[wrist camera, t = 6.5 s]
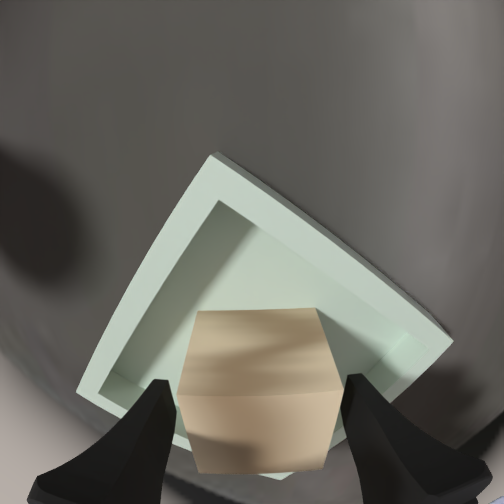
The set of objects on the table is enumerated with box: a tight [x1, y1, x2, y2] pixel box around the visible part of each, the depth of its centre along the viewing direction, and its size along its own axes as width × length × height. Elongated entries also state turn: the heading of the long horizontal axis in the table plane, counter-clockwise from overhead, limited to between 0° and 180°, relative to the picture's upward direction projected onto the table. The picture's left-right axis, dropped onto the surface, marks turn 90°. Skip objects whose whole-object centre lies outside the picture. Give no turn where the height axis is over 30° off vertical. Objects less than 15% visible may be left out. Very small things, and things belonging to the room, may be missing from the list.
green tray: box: [76, 152, 453, 480], centre depth 14 cm, size 13×13×2 cm
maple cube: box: [176, 307, 344, 474], centre depth 12 cm, size 5×5×5 cm
